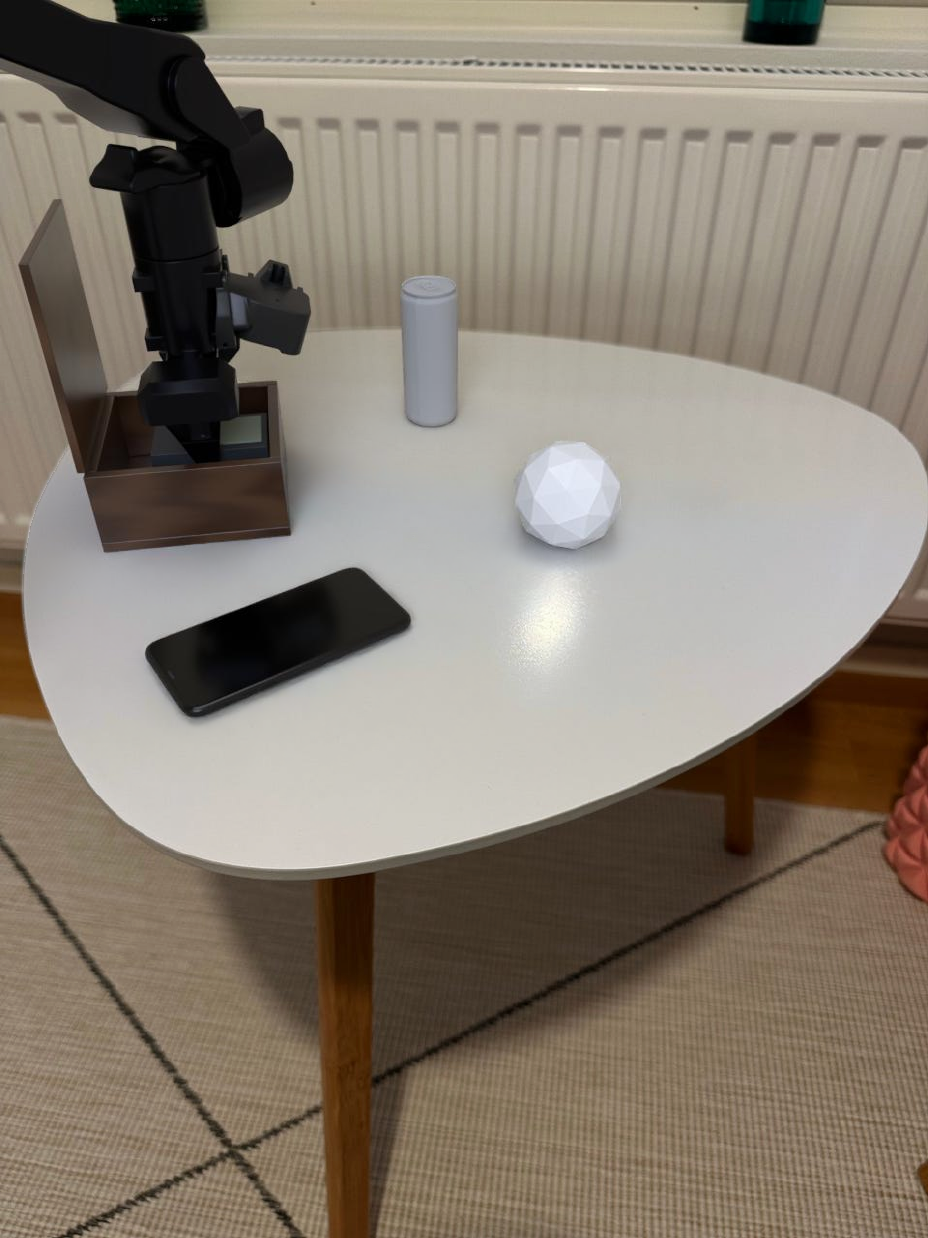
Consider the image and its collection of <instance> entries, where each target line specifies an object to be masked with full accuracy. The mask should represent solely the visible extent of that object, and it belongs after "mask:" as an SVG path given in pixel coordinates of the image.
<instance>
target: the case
mask: <svg viewBox="0 0 928 1238" xmlns="http://www.w3.org/2000/svg"><path fill="white" fill-rule="evenodd" d="M238 387H239V415H244V414H257V413H267V418H268V425H269V454H270V458H259V459H247V460H234V461H222V462H210V463H198V464H185V465H173V466H161V467H153V466H152V461H151V457H150V454H151V448H152V442H153V436H154V429H155V426H153V427H150V426H147V425H145V424H143V423H142V420H141V415H140V411H139V407H138V402H137V398H136V397H137V392H138V389H136V390H124V391H123V390H122V391H121V390H120V391H109V392H108V391H107V393H106V397H105V401H104V405H103V409H102V413H101V416H100V420H99V424H98V428H97V432H96V436H95V440H94V443H93V447H92V451H91V455H90V459H89V463H88V467H87V470H86V473H83V477H82V479H83V483H84V486H85V490H86V493H87V497H88V501H89V504H90V508H91V511H92V515H93V519H94V522H95V525H96V530H97V532H98V536H99V541H100V543H101V547H102V551H103V553H113V552H123V551H125V552H126V551H134V550H145V549H157V548H166V547H167V548H168V547H179V546H188V545H189V546H190V545H199V544H211V543H221V542H233V541H241V540H243V541H244V540H255V539H265V538H274V537H286V536H287V537H288V536H291V533H292V532H291V515H290V498H289V483H288V482H289V478H288V461H287V446H286V439H285V432H284V423H283V422H284V421H283V414H282V407H281V399H280V392H279V385H278V380H275V379H274V380H263V381H250V382H247V381H246V382H238Z"/></svg>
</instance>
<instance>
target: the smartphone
mask: <svg viewBox="0 0 928 1238" xmlns="http://www.w3.org/2000/svg"><path fill="white" fill-rule="evenodd" d="M411 624H412V617H411V615H410V613H409V611H407V609H405V608H404V607H403V606H402V605H401V604H400V603H399V602H398V601H397V600H396V599H395V598H393V596H392V595H390V594H389V592H388V591H386V589H384V588H383V587H382V585H380V584H378V582H376V580H375V579H374V578H372V576H370V575H369V574H368V573H367V572H366V571H365V570H364V569H361V568H359V567H355V566H353V567H352V566H351V567H346V568H342V569H340V570H337V571H334V572H332V573H329V574H327V575H324V576H322V577H319V578H316V579H313V580H310V581H309V582H306V583H302V584H300V585H297V586H295V587H293V588H289V589H288V590H284V591H282V592H279V593H277V594H274V595H271V596H269V597H267V598H264V599H260V600H258V601H256V602H254V603H250V604H247V605H246V606H243V607H240V608H237V609H235V610H232V611H230V612H229V611H228V612H227V613H224V614H222V615H218V616H216V617H214V618H211V619H208V620H206V621H203V622H201V623H197V624H195V625H192V626H190V627H187V628H184V629H182V630H179V631H177V632H174V633H171V634H168V635H166V636H164V637H161V638H158V639H156V640H154V641H152V642H150V643H149V644H148V645H147V646H146V648H145V650H144V657H145V659H146V661H147V663H148V664H149V666H150V667H151V669H152V670H153V672H154V673H155V675H156V676H157V678H158V679H159V680H160V682H161V684H162V685H163V686H164V687H165V689H166V690H167V692H168V694H169V695H170V696H171V698H172V699H173V701H174V702H175V704H176V706H178V708H179V710H181V712H182V713H183V714H184V715H186V716H187V717H190V718H195V719H196V718H202V717H205V716H206V717H207V716H209V715H211V714H214V713H216V712H219V711H221V710H223V709H226V708H227V707H230V706H231V705H234V704H236V703H239V702H242V701H244V700H246V699H248V698H250V697H253V696H255V695H258V694H260V693H262V692H265V691H267V690H269V689H272V688H274V687H276V686H279V685H281V684H284V683H286V682H288V681H290V680H292V679H295V678H298V677H300V676H302V675H304V674H307V673H309V672H311V671H314V670H316V669H319V668H321V667H323V666H326V665H328V664H331V663H333V662H335V661H338V660H339V659H342V658H344V657H347V656H349V655H351V654H354V653H356V652H358V651H361V650H363V649H365V648H368V647H370V646H372V645H375V644H377V643H380V642H382V641H384V640H386V639H389V638H392V637H393V636H395V635H398V634H400V633H403V632H404V631H406V630H407V629H409V627H410V626H411Z"/></svg>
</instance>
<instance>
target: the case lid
mask: <svg viewBox="0 0 928 1238" xmlns="http://www.w3.org/2000/svg"><path fill="white" fill-rule="evenodd" d="M70 231H71V230H70V227H69V222H68V219H67V214H66V210H65V207H64V202H63V199H62V198H55V199H54V198H53V200H52V201H51V203H50V205H49V206H48V209H47V211H46V212H45V214H44V216H43V218H42V220H41V222H40V223H39V224H38V227H37V229H36V231H35V232H34V234H33V237H32V238H31V240H30V242H29V244H28V246H27V247H26V249H25V251H24V253H23V255H22V256H21V258H20V260H19V262H18V270H19V274H20V276H21V277H20V278H21V279H22V280H21V281H22V283H23V287H24V291H25V294H26V298H27V302H28V305H29V308H30V309H29V310H30V311H31V316H32V319H33V323H34V326H35V329H36V333H37V337H38V340H39V343H40V348H41V352H42V354H43V358H44V362H45V364H46V368H47V372H48V375H49V378H50V382H51V386H52V389H53V393H54V397H55V399H56V404H57V407H58V410H59V415H60V418H61V421H62V424H63V425H62V426H63V428H64V432H65V435H66V438H67V443H68V445H69V449H70V453H71V456H72V460H73V463H74V466H75V470H76V473H77V474H78V475H79V474H85V473H86V470H87V467H88V463H89V459H90V455H91V451H92V447H93V443H94V440H95V436H96V432H97V428H98V424H99V420H100V416H101V413H102V409H103V405H104V401H105V397H106V393H107V392H108V389H109V385H108V381H107V378H106V372H105V369H104V364H103V361H102V357H101V352H100V349H99V344H98V340H97V337H96V333H95V329H94V325H93V321H92V316H91V312H90V309H89V304H88V301H87V296H86V291H85V287H84V285H83V284H84V283H83V280H82V275H81V272H80V268H79V263H78V259H77V254H76V252H75V246H74V243H73V239H72V235H71V232H70Z"/></svg>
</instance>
